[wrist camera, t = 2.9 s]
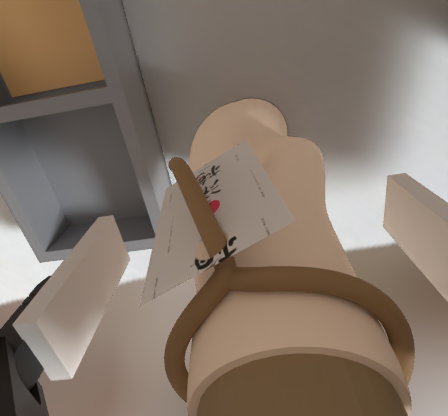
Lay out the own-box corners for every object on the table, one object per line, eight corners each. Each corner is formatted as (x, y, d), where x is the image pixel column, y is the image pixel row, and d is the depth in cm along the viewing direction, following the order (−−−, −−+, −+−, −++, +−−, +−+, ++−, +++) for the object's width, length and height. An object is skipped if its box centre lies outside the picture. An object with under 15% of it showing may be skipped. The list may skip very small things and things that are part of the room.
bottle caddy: (86, -128, 22) (40, -184, 17) (180, 217, 36) (170, 246, 30) (-84, -82, 24) (-176, -120, 18) (67, 232, 37) (39, 262, 32)
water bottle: (178, 135, 31) (-46, 469, 6) (234, 60, 28) (225, 155, 3) (252, 193, 34) (296, 583, 9) (311, 132, 30) (639, 491, 6)
